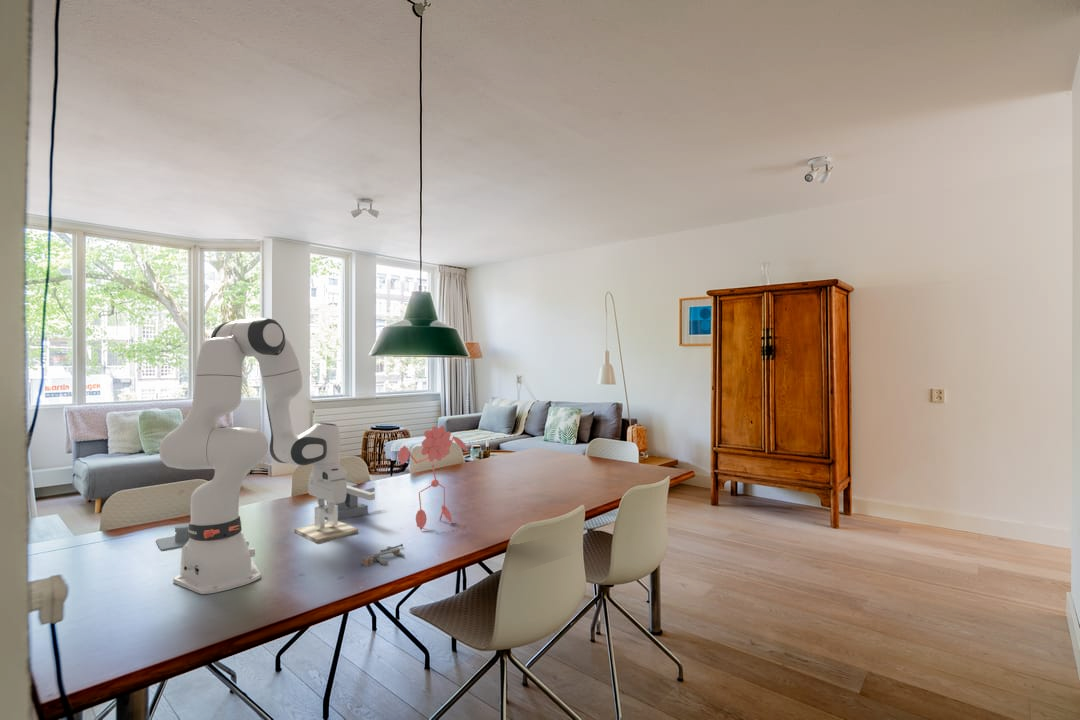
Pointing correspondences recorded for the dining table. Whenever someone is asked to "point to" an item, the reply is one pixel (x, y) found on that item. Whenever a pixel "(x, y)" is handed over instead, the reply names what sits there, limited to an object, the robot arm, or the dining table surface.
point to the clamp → (369, 559)
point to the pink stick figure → (435, 448)
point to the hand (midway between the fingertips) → (326, 512)
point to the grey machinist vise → (354, 502)
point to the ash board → (326, 532)
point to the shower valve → (175, 538)
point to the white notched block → (321, 514)
